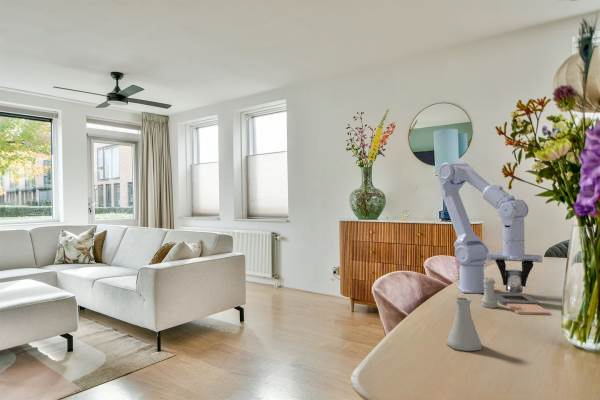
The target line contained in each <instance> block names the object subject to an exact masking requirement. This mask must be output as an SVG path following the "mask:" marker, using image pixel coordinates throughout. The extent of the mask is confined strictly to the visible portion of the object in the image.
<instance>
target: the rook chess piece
mask: <svg viewBox="0 0 600 400" xmlns="http://www.w3.org/2000/svg"><path fill="white" fill-rule="evenodd" d="M483 282H484V289H485V291H484V293H483V296H482V299H481V300H480V301H481V303H480V304H481V307H484V308H488V309H496V308H498V306H499V304H498V301H497V300H496V298H495V295H494V294H495V288H496V287H495V286H494V285H495V284H496V281H495V279H494V277H493V278H492V277H484V281H483Z"/></svg>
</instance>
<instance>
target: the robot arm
mask: <svg viewBox="0 0 600 400" xmlns="http://www.w3.org/2000/svg"><path fill="white" fill-rule="evenodd" d="M436 175H437V178H438V181H439V183H440V184H439V185H440V186H439V187H440V193H441V196H442V199H443V201H444V204H445V208H446V209H447V213H448V215H449V218H450V220H451V221H450V222H451V223H452V227H453V229H454V232H455V234H456V237H457V238H456V240H455V241H454V243H453V247H454V255H455V259H456V260H457V262H458V264H459V265H460V266H459V269H458V271H459V275H458V276H459V284H456V287H457V289H459V290H460V292H462V293H467V294H468V293H469V294H484V291H485V288H484V286H485V284H484V282H483V281H484V278H485V264H486V261H488V262H489V261H495V263H496V265H497V267H498V269H499V272H500V275H501V279H502V285H503V286H506V270H507V268H506V267H507V264H506V262H521V271H523V274H522V285H523V287H526V285H527V280H528V278H529V274H530V273H531V271H532V270H533V267H534V263H539V264H541V263H542V264H543V255H539V254H525V252H526V251H525V218H526V217H527V215H528V213H529V206H528V204H527V203H526V202H525V200H524V199H516V198H515V195H513V194H509V192H507V191H505V189H504V187H503V186H502V185H497V184H490V183H489V182H488V181H487V180H486V179H484V178H483V176H482V175H480V174H479V173H477V171H475V169H474V167H472V166H471V165H469V164H468V163H467V162H459V163H458V162H447V161H445V162H443V163H441V165H440V166H439V168H438V170H437V173H436ZM466 183H468V184H470V185H471V186H472V187H474V188H475V189H476V190H478V191H479V192H481V193H482V198H483V200H485V201H486V202H488V204H490V205H491V206H492V207H493V208H494V209H496V210H497V213H498V216H499V217H500V219H501V224H502V253H501V252H500V253H499V252H498V253H490V251H489V249H488V247H487V245H486V244H485V243H484V242H483V239H482V237H480V236H478V235H477V234H475V232H474V231H475V230H474V229H473V226H472V224H471V222H470V219H469V216H468V214H467V211H466V208H465V206H464V203H463V200H462V198H461V195H460V193H459V191H460V190H461V188H462V187H463V186H464V185H465V184H466Z"/></svg>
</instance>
